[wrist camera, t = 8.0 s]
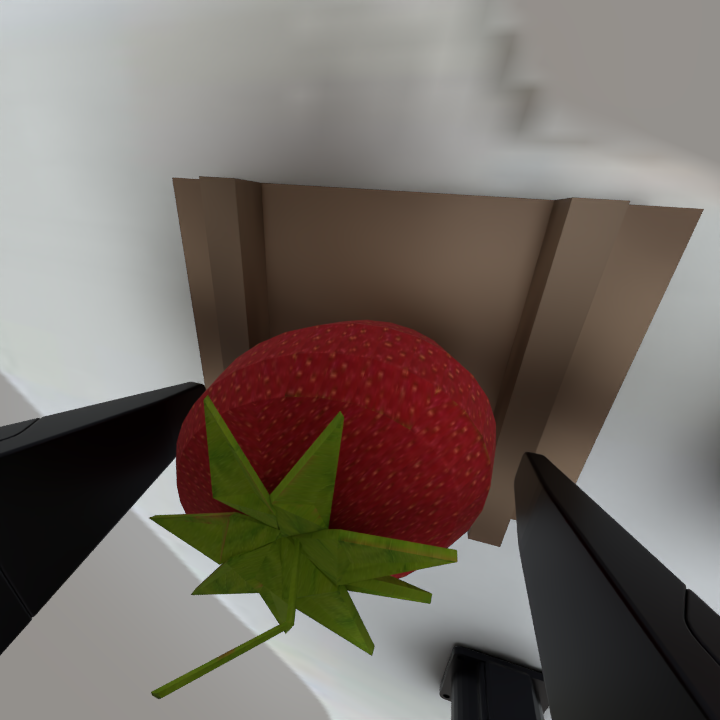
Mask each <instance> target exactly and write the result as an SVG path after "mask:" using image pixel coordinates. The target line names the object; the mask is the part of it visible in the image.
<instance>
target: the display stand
mask: <svg viewBox="0 0 720 720" xmlns="http://www.w3.org/2000/svg"><path fill="white" fill-rule="evenodd" d="M172 179H173V186H174V192H175V198H176V205H177V211H178V217H179V224H180V230H181V236H182V243H183V249H184V255H185V262H186V268H187V274H188V281H189V287H190V293H191V300H192V306H193V312H194V319H195V325H196V332H197V338H198V344H199V351H200V357H201V363H202V370H203V376H204V382H205V388H206V390H207V389H208V388H209V387H210V385H211V384H212V383H213V382H214V381H215V380H216V379H217V378H218V377H219V375H220V374H221V373H222V372H223V371H224V370H225V369H226V368H227V367H228V366H229V365H230V364H231V363H232V362H233V361H234V360H235V359H236V358H238V357H239V356H241V355H242V354H244V353H245V352H247V351H248V350H250V349H251V348H253V347H254V346H256V345H257V344H259V343H261V342H263V341H266V340H268V339H270V338H273V337H275V336H278V335H280V334H282V333H285V332H288V331H293V330H298V329H302V328H307V327H312V326H317V325H323V324H329V323H336V322H342V321H356V320H373V321H381V322H390V323H394V324H397V325H400V326H404V327H407V328H410V329H413V330H416V331H417V332H419V333H421V334H423V335H425V336H427V337H428V338H430V339H432V340H434V341H435V342H436V343H437V344H438V345H440V346H441V347H442V348H443V349H444V350H445V351H446V352H448V353H449V354H450V355H451V356H452V357H453V358H454V359H455V360H456V361H458V362H459V363H460V364H461V365H462V366H463V367H464V368H465V369H466V370H468V371H469V372H470V373H471V374H472V375H473V376H474V378H475V379H476V381H477V382H478V384H479V385H480V387H481V388H482V390H483V391H484V393H485V394H486V396H487V397H488V399H489V402H490V405H491V409H492V412H493V415H494V419H495V422H496V450H495V457H494V464H493V472H492V479H491V486H490V490H489V493H488V496H487V499H486V502H485V504H484V507H483V510H482V512H481V513H480V515H479V516H478V517H477V519H476V520H475V522H474V523H473V524H472V526H471V527H470V529H469V530H468V539H472V540H476V541H480V542H483V543H487V544H491V545H495V546H498V547H500V546H501V543H502V540H503V538H504V535H505V532H506V530H507V527H508V524H509V522H510V519H513V520H516V507H515V494H514V479H515V475H516V472H517V469H518V467H519V464H520V461H521V458H522V456H523V454H524V453H525V452H532V453H537V454H542V455H544V456H545V457H546V458H548V459H549V460H550V461H551V462H552V463H553V464H554V465H555V466H556V467H557V468H558V469H560V470H561V471H562V472H563V473H564V474H565V475H566V476H567V477H568V478H569V479H570V480H572V481H573V482H574V483H575V484H576V482H577V479H578V477H579V475H580V473H581V471H582V469H583V467H584V464H585V462H586V460H587V458H588V456H589V454H590V452H591V449H592V447H593V445H594V443H595V441H596V439H597V437H598V434H599V432H600V430H601V428H602V426H603V424H604V422H605V419H606V417H607V415H608V413H609V411H610V409H611V407H612V404H613V402H614V400H615V398H616V396H617V394H618V392H619V389H620V387H621V385H622V383H623V381H624V379H625V377H626V374H627V372H628V370H629V368H630V366H631V364H632V362H633V359H634V357H635V355H636V353H637V351H638V349H639V347H640V344H641V342H642V340H643V338H644V336H645V334H646V332H647V329H648V327H649V325H650V323H651V321H652V319H653V317H654V314H655V312H656V310H657V308H658V306H659V304H660V302H661V300H662V297H663V295H664V293H665V291H666V289H667V287H668V285H669V282H670V280H671V278H672V276H673V274H674V272H675V270H676V267H677V265H678V263H679V261H680V259H681V257H682V255H683V252H684V250H685V248H686V246H687V244H688V242H689V240H690V237H691V235H692V233H693V231H694V229H695V227H696V225H697V222H698V220H699V218H700V216H701V214H702V212H703V210H704V209H694V208H677V207H660V206H643V205H629V203H630V201H623V200H606V199H588V198H567V199H560V200H542V199H525V198H508V197H491V196H474V195H457V194H440V193H423V192H406V191H390V190H373V189H356V188H339V187H322V186H305V185H288V184H271V183H259V182H253V181H247V180H241V179H236V178H220V177H202V176H199V179H187V178H172Z"/></svg>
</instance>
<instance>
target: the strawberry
mask: <svg viewBox="0 0 720 720" xmlns="http://www.w3.org/2000/svg"><path fill="white" fill-rule="evenodd" d="M495 450H496V422H495V419H494V415H493V412H492V409H491V405H490V402H489V399H488V397H487V396H486V394H485V393H484V391H483V390H482V388H481V387H480V385H479V384H478V382H477V381H476V379H475V378H474V376H473V375H472V374H471V373H470V372H469V371H468V370H466V369H465V368H464V367H463V366H462V365H461V364H460V363H459V362H458V361H456V360H455V359H454V358H453V357H452V356H451V355H450V354H449V353H448V352H446V351H445V350H444V349H443V348H442V347H441V346H440V345H438V344H437V343H436V342H435V341H434V340H432V339H430V338H428V337H427V336H425V335H423V334H421V333H419V332H417V331H416V330H413V329H410V328H407V327H404V326H400V325H397V324H394V323H390V322H381V321H373V320H356V321H342V322H336V323H329V324H323V325H317V326H312V327H307V328H302V329H298V330H293V331H288V332H285V333H282V334H280V335H278V336H275V337H273V338H270V339H268V340H266V341H263V342H261V343H259V344H257V345H256V346H254V347H253V348H251V349H250V350H248V351H247V352H245V353H244V354H242V355H241V356H239V357H238V358H236V359H235V360H234V361H233V362H232V363H231V364H230V365H229V366H228V367H227V368H226V369H225V370H224V371H223V372H222V373H221V374H220V375H219V377H218V378H217V379H216V380H215V381H214V382H213V383H212V384H211V385H210V387H209V388H208V389H207V390H206V391H205V392H204V393H203V394H202V395H201V397H200V398H199V399H198V400H197V401H196V402H195V403H194V405H193V406H192V408H191V410H190V411H189V413H188V415H187V416H186V418H185V420H184V421H183V423H182V426H181V430H180V433H179V436H178V440H177V448H176V476H177V489H178V493H179V498H180V502H181V504H182V506H183V509H184V511H185V513H186V514H177V515H155V516H153V517H150V519H151V520H153V521H154V522H156V523H157V524H159V525H160V526H162V527H163V528H165V529H166V530H168V531H169V532H171V533H172V534H174V535H175V536H177V537H178V538H180V539H181V540H183V541H184V542H186V543H187V544H189V545H191V546H192V547H194V548H195V549H197V550H198V551H200V552H201V553H203V554H204V555H206V556H207V557H209V558H210V559H212V560H213V561H215V562H216V563H218V564H219V565H220V564H222V563H223V564H222V565H220V566H219V567H218V568H217V569H216V570H215V571H214V572H213V573H212V574H211V575H210V576H209V577H208V578H206V579H205V580H204V581H203V582H202V583H201V584H200V585H199V586H198V587H197V588H196V589H195V590H194V592H193V593H192V594H191V595H208V594H241V593H259V594H260V595H261V597H262V598H263V600H264V601H265V603H266V604H267V606H268V607H269V609H270V611H271V612H272V614H273V615H274V617H275V618H276V620H277V621H278V623H279V624H280V625H278V626H276V627H274V628H272V629H270V630H268V631H266V632H264V633H263V634H261V635H259V636H257V637H255V638H253V639H251V640H249V641H247V642H246V643H244V644H242V645H240V646H238V647H236V648H234V649H232V650H230V651H228V652H227V653H225V654H223V655H221V656H219V657H217V658H215V659H213V660H211V661H209V662H208V663H206V664H204V665H202V666H200V667H198V668H196V669H194V670H192V671H190V672H188V673H187V674H185V675H183V676H181V677H179V678H177V679H175V680H173V681H171V682H169V683H167V684H166V685H164V686H162V687H160V688H158V689H156V690H154V691H152V692H151V693H152V695H153V696H154V697H156V698H158V699H160V698H163V697H164V696H166V695H168V694H170V693H172V692H174V691H175V690H177V689H179V688H181V687H183V686H185V685H186V684H188V683H190V682H192V681H193V680H195V679H197V678H199V677H201V676H203V675H204V674H206V673H208V672H210V671H212V670H214V669H215V668H217V667H219V666H221V665H222V664H224V663H226V662H228V661H230V660H232V659H234V658H236V657H237V656H239V655H241V654H243V653H245V652H247V651H248V650H250V649H252V648H254V647H255V646H257V645H259V644H261V643H263V642H265V641H267V640H268V639H270V638H272V637H274V636H276V635H278V634H279V633H281V632H283V631H284V632H285V634H286V633H287V632H288V631H289V630H290V629H291V628H292V626H294V620H295V610H296V609H297V610H299V611H301V612H302V613H304V614H306V615H307V616H309V617H310V618H312V619H314V620H315V621H317V622H318V623H320V624H322V625H323V626H325V627H326V628H328V629H330V630H331V631H333V632H335V633H336V634H338V635H339V636H341V637H343V638H344V639H346V640H347V641H349V642H351V643H352V644H354V645H355V646H357V647H359V648H360V649H362V650H363V651H365V652H367V653H368V654H370V655H372V654H373V650H374V647H375V646H374V644H373V642H372V640H371V638H370V636H369V634H368V632H367V630H366V628H365V626H364V624H363V621H362V619H361V617H360V615H359V613H358V611H357V609H356V607H355V605H354V603H353V601H352V599H351V597H350V595H349V593H348V591H354V592H360V593H366V594H373V595H379V596H385V597H391V598H397V599H404V600H410V601H416V602H422V603H428V604H430V603H431V597H432V594H431V593H429V592H427V591H425V590H422V589H420V588H418V587H415V586H413V585H411V584H409V583H406V582H404V581H402V580H399V578H402V577H405V576H407V575H408V574H410V573H412V572H414V571H416V570H419V569H424V568H429V567H434V566H439V565H444V564H449V563H454V562H457V550H454V549H448V547H449V546H451V545H452V544H453V543H454V542H455V541H456V540H458V539H459V538H460V537H461V536H462V535H463V534H465V533H466V532H467V531H468V530H469V529H470V527H471V526H472V524H473V523H474V522H475V520H476V519H477V517H478V516H479V515H480V513H481V512H482V510H483V507H484V504H485V502H486V499H487V496H488V493H489V490H490V486H491V479H492V472H493V464H494V457H495ZM347 590H348V591H347Z"/></svg>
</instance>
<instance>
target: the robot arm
mask: <svg viewBox="0 0 720 720" xmlns="http://www.w3.org/2000/svg"><path fill="white" fill-rule="evenodd" d="M205 391H206V388H205V386H204V385H203V384H200V383H195V382H187V383H183V384H179V385H175V386H171V387H166V388H162V389H158V390H154V391H150V392H145V393H141V394H137V395H133V396H129V397H124V398H120V399H116V400H112V401H108V402H103V403H99V404H95V405H91V406H87V407H82V408H78V409H74V410H70V411H66V412H61V413H57V414H53V415H49V416H45V417H42V418H36V419H32V420H28V421H23V422H19V423H15V424H11V425H6V426H2V427H0V655H1V654H2V653H3V651H5V649H6V648H7V647H8V646H9V645H10V644H11V643H12V642H13V640H14V639H15V638H16V637H17V636H18V635H19V633H21V631H22V630H23V629H24V628H25V627H26V626H27V625H28V624H29V622H30V621H31V620H32V617H34V616H35V615H36V614H37V613H38V612H39V611H40V609H41V608H42V607H43V606H44V605H45V604H46V603H47V602H48V601H49V599H50V598H51V597H52V596H53V595H54V594H55V593H56V591H57V590H58V589H59V588H60V587H61V586H62V585H63V584H64V582H65V581H66V580H67V579H68V578H69V577H70V576H71V575H72V574H73V572H74V571H75V570H76V569H77V568H78V567H79V565H80V564H81V563H82V562H83V561H84V560H85V559H86V558H87V557H88V556H89V554H90V553H91V552H92V551H93V550H94V549H95V548H96V547H97V545H98V544H99V543H100V542H101V541H102V540H103V539H104V538H105V536H106V535H107V534H108V533H109V532H110V531H111V530H112V529H113V527H114V526H115V525H116V524H117V523H118V521H120V519H121V518H122V517H123V516H124V515H125V514H126V513H127V512H128V511H129V509H130V508H131V507H132V506H133V505H134V504H135V503H136V502H137V500H138V499H139V498H140V497H141V496H142V495H143V494H144V493H145V491H146V490H147V489H148V488H149V487H150V486H151V485H152V484H153V482H154V481H155V480H156V479H157V478H158V477H159V476H160V475H161V473H162V472H163V471H164V470H165V469H166V468H167V467H168V466H169V464H170V463H171V462H172V461H173V460H174V459H175V457H176V448H177V440H178V436H179V433H180V430H181V426H182V423H183V421H184V420H185V418H186V416H187V415H188V413H189V411H190V410H191V408H192V406H193V405H194V403H195V402H196V401H197V400H198V399H199V398H200V397H201V395H202V394H203V393H204V392H205ZM514 494H515V507H516V521H517V535H518V545H519V552H520V557H521V563H522V568H523V573H524V578H525V583H526V589H527V594H528V599H529V604H530V609H531V615H532V620H533V625H534V630H535V635H536V640H537V646H538V651H539V656H540V661H541V666H542V672H543V674H542V673H539V672H536V671H533V670H530V669H527V668H524V667H521V666H518V665H515V664H512V663H509V662H506V661H503V660H500V659H497V658H494V657H491V656H488V655H485V654H482V653H479V652H476V651H473V650H470V649H467V648H464V647H460V646H456V647H454V648H453V651H452V654H451V657H450V659H449V662H448V665H447V668H446V671H445V674H444V676H443V679H442V682H441V685H440V696H441V697H442V698H443V699H446V700H448V701H451V720H544V716H543V714H544V712H545V711H546V709H547V708H548V706H549V708H550V713H551V718H552V720H720V616H719V615H718V614H717V613H716V612H715V611H713V610H712V609H711V608H710V607H709V606H708V605H707V604H706V603H705V602H704V601H703V600H701V599H700V598H699V597H698V596H697V595H696V594H695V593H694V592H693V591H692V590H690V589H686V585H685V584H684V583H683V582H682V581H681V580H680V579H678V578H677V577H676V576H675V575H674V574H673V573H672V572H671V571H670V570H669V569H668V568H666V567H665V566H664V565H663V564H662V563H661V562H660V561H659V560H658V559H657V558H656V557H654V556H653V555H652V554H651V553H650V552H649V551H648V550H647V549H646V548H645V547H644V546H642V545H641V544H640V543H639V542H638V541H637V540H636V539H635V538H634V537H633V536H632V535H630V534H629V533H628V532H627V531H626V530H625V529H624V528H623V527H622V526H621V525H620V524H618V523H617V522H616V521H615V520H614V519H613V518H612V517H611V516H610V515H609V514H608V513H606V512H605V511H604V510H603V509H602V508H601V507H600V506H599V505H598V504H597V503H596V502H594V501H593V500H592V499H591V498H590V497H589V496H588V495H587V494H586V493H585V492H584V491H582V490H581V489H580V488H579V487H578V486H577V485H576V484H575V483H574V482H573V481H572V480H570V479H569V478H568V477H567V476H566V475H565V474H564V473H563V472H562V471H561V470H560V469H558V468H557V467H556V466H555V465H554V464H553V463H552V462H551V461H550V460H549V459H548V458H546V457H545V456H544V455H542V454H537V453H532V452H525V453H524V454H523V456H522V458H521V461H520V464H519V467H518V469H517V472H516V475H515V479H514Z"/></svg>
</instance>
